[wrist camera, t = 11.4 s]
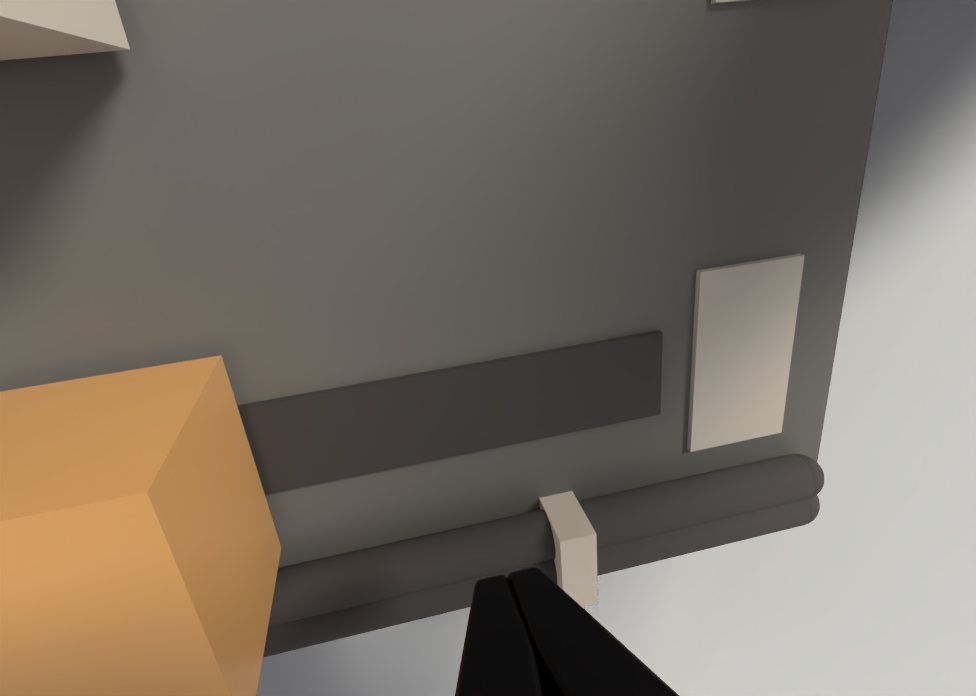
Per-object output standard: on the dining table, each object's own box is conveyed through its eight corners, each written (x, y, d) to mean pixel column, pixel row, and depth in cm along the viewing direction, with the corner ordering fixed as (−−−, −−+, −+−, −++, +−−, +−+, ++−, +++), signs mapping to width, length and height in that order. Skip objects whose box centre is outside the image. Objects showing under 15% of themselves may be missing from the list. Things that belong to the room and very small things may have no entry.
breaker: (221, 355, 10) (147, 492, 6) (281, 548, 12) (249, 739, 8) (-32, 397, 9) (-269, 574, 6) (71, 593, 11) (-62, 822, 8)
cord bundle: (805, 439, 14) (852, 474, 13) (795, 503, 15) (838, 542, 14) (-162, 651, 11) (-233, 726, 10) (-109, 718, 12) (-168, 796, 11)
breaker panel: (864, -410, 10) (989, -539, 8) (762, 461, 17) (814, 506, 15) (-840, -476, 6) (-1360, -730, 4) (-67, 645, 14) (-137, 735, 12)
